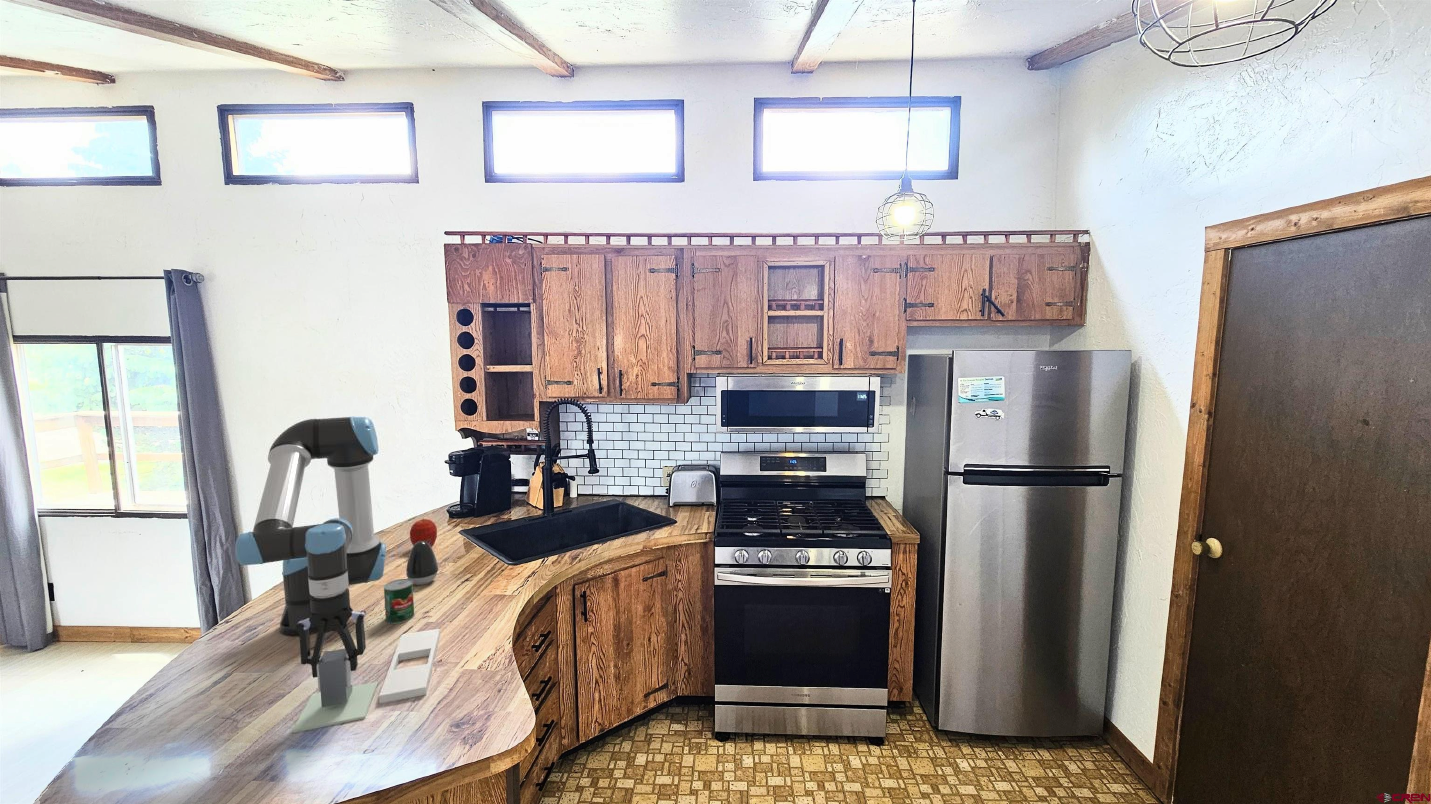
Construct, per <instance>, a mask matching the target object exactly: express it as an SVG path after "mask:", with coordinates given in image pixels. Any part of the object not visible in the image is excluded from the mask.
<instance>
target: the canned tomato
mask: <svg viewBox="0 0 1431 804" xmlns="http://www.w3.org/2000/svg"><path fill="white" fill-rule="evenodd" d="M413 585H414V584H413V581H412V580H410V579H408V578H401V579H396V580H392V581H389V582H387V583H386V584H385V585H384V586H383V593H384V594H383V595H384V612H385V622H386V623H387V624H393V625H395V624H396V625H397V624H401V623H406V622H408V621H410V620H411V619H412V618H414V617H415V603H414V602H415V601H414V589H413V588H414V587H413Z"/></svg>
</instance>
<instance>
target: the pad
mask: <svg viewBox="0 0 1431 804" xmlns="http://www.w3.org/2000/svg"><path fill="white" fill-rule="evenodd" d="M378 685H379V681H375V682H374V681H373V682H370V683H363V684H362V683H361V684H358V685H352V690H353V691H352V693H351V695H350V697H349V700H348V702H347V703H344V704H339V705H333V706H328V707H323V708H322V704H321V692H319V691H318V692H315V693H311V696H310V697H309V699H308V701H307V702H306V705H305V707H304V708H303V710H302V711H301V714H300V715H299V718H298V719H297V721H296V723H295V725H294V726H293V728H292V729H291V734H293V733H300V732H306V731H310V730H314V729H319V728H325V727H330V726H334V725H340V724H345V723H350V722H354V721H360V720H365V719H366V717H367V714H368V712H369V708H370V707H371V704H372V702H373V699H374V696H375V693H376V691H377V688H378Z"/></svg>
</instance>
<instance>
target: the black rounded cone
mask: <svg viewBox="0 0 1431 804" xmlns="http://www.w3.org/2000/svg"><path fill="white" fill-rule="evenodd" d="M430 541H431V539H428V540H427V541H426V542H425V541H419V542H417V543H415V544H414V546H413V545H412V548H411V549H410V551H409V555H408V558H407V564H406V571H405V573H406V574H405V575H406V577H407V579H410V580H412V581H413V583H412V584H413V585H416V586H424V585H427V584H429V583H432V582H433V581H434V580H435V578H436V577H437V575H438V571H439V565H438V561H437V557H436V555H435V552H434V550H433V547H431V546H430V545H429V543H430Z"/></svg>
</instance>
